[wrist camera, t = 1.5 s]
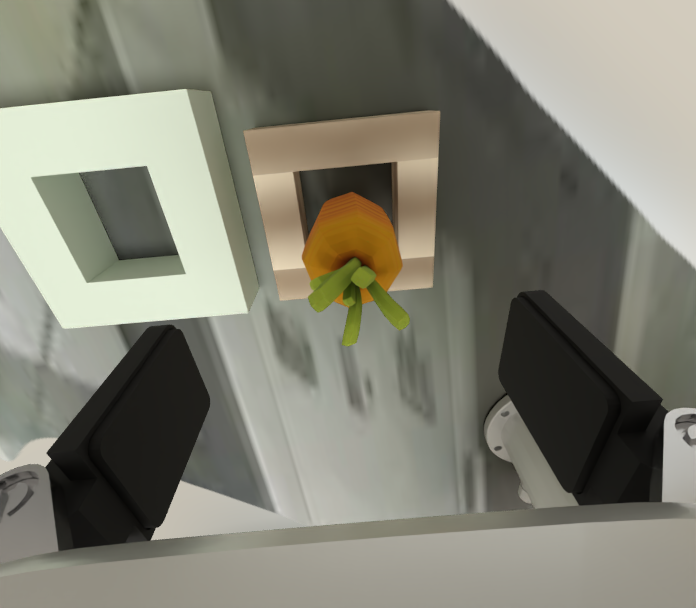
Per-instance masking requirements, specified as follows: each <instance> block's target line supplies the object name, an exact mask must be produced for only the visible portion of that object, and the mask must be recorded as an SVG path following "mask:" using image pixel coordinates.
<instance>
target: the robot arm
mask: <svg viewBox="0 0 696 608" xmlns="http://www.w3.org/2000/svg"><path fill="white" fill-rule="evenodd" d="M498 374H499V379H500V382H501V384H502V386H503V387H504V389H505V391H506V392H507V394H508V395H506V396H505V397H504V398H503V399H501V400H500V401H499V402H498V403H497V404H496V405H495V406H494V408H493V409H492V410H491V411H490V413H489V415H488V416H487V418H486V421H485V424H484V436H485V439H486V442H487V444H488V446H489V448H490V450H491V451H492V452H493V453H494V454H495V455H497V456H498V457H499V458H501V459H503V460H506V461H508V462H512V463H513V465H514V467H515V469H516V471H517V473H518V475H519V478H520V480H521V482H520V486H519V489H518V495H519V497H520V498H521V499H522V500H523V501H524V502H527V503H532V504H533V507H534V509H524V510H511V511H498V512H485V513H472V514H459V515H446V516H433V517H421V518H408V519H396V520H384V521H372V522H360V523H347V524H335V525H323V526H312V527H300V528H288V529H276V530H264V531H254V532H242V533H231V534H219V535H208V536H197V537H185V538H174V539H162V540H152V541H150V540H151V538H152V536H153V533H154V531H155V528H156V527H159V526H161V524H162V523H163V521H164V519H165V517H166V514H167V512H168V509H169V507H170V504H171V502H172V499H173V497H174V494H175V492H176V489H177V487H178V484H179V482H180V479H181V477H182V475H183V472H184V470H185V467H186V465H187V462H188V460H189V457H190V455H191V452H192V450H193V447H194V445H195V442H196V440H197V437H198V435H199V432H200V430H201V427H202V425H203V422H204V420H205V417H206V415H207V412H208V410H209V407H210V397H209V394H208V392H207V389H206V387H205V385H204V382H203V380H202V378H201V375H200V373H199V370H198V368H197V366H196V363H195V361H194V358H193V356H192V354H191V351H190V349H189V347H188V344H187V342H186V339H185V337H184V335H183V333H182V331H181V330H180V329H176V328H175V327H174V326H173V325H160V326H151V327H149V328H147V329H146V331H145V332H144V333H143V334H142V336H141V337H140V338H139V339H138V340H137V342H136V343H135V344H134V345H133V347H132V348H131V349H130V350H129V352H128V353H127V354H126V355H125V357H124V358H123V359H122V360H121V361H120V363H119V364H118V365H117V366H116V368H115V369H114V370H113V371H112V373H111V374H110V375H109V376H108V377H107V379H106V380H105V381H104V382H103V384H102V385H101V386H100V387H99V389H98V390H97V391H96V392H95V394H94V395H93V396H92V397H91V398H90V400H89V401H88V402H87V403H86V405H85V406H84V407H83V408H82V410H81V411H80V412H79V413H78V414H77V416H76V417H75V418H74V419H73V421H72V422H71V423H70V424H69V426H68V427H67V428H66V429H65V431H64V432H63V433H62V434H61V435H60V437H59V438H58V439H57V440H56V442H55V443H54V444H53V446H52V447H51V448H50V449H49V450H48V452H47V454H48V456H49V457H50V458H51V459H52V460H51V461H50V462H49V464H48V465H47V466H46V467H44V466H41V465H38V464H28V465H25V466H21V467H17V468H14V469H12V470H10V471H8V472H5V473H3V474H2V475H0V608H696V408H678V409H673V410H672V411H670V412H668V411H667V410H666V409H665V408H664V407H663V406H662V405H661V402H662V400H663V399H662V398H661V397H660V396H659V395H658V394H657V393H656V392H655V391H653V390H652V389H651V388H650V387H649V386H648V385H647V384H646V383H645V382H644V381H643V380H641V379H640V378H639V377H638V376H637V375H636V374H635V373H634V372H633V371H632V370H631V369H629V368H628V367H627V366H626V365H625V364H624V363H623V362H622V361H621V360H620V359H619V358H617V357H616V356H615V355H614V354H613V353H612V352H611V351H610V350H609V349H608V348H607V347H605V346H604V345H603V344H602V343H601V342H600V341H599V340H598V339H597V338H596V337H595V336H593V335H592V334H591V333H590V332H589V331H588V330H587V329H586V328H585V327H584V326H583V325H581V324H580V323H579V322H578V321H577V320H576V319H575V318H574V317H573V316H572V315H571V314H569V313H568V312H567V311H566V310H565V309H564V308H563V307H562V306H561V305H560V304H559V303H557V302H556V301H555V300H554V299H553V298H552V297H551V296H550V295H549V294H548V293H547V292H545V291H544V290H538V291H527V292H521V293H519V295H518V296H517V298H513V300H512V302H511V306H510V311H509V317H508V322H507V327H506V333H505V338H504V343H503V348H502V354H501V359H500V364H499V370H498Z"/></svg>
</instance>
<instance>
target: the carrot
mask: <svg viewBox="0 0 696 608" xmlns="http://www.w3.org/2000/svg"><path fill="white" fill-rule="evenodd" d="M302 260H303V263H304V265H305V268H306V270H307V272H308V275H309V277H310V279H311V282H310V283H309V285H310V287H311V289H312V290H314V291H313V292H312V293H311V294H310V295H309V296H308V299H309V302H310V305H311V307H312V308H313V309H314V310H316V311H317V312H321V311H323V310H324V309H325V308H327V307H328V306H329V305H330V304H331V303H332V302H333V301H334V302H337V303H339V304H341V305H344V306H346V307H348V308H349V310H348V316H347V320H346V325H345V330H344V334H343V341H342V345H344V346H350V345H353V344H355V343H356V342H357V338H358V335H359V329H360V322H361V313H362V304H364V303H367V302H371V301H375V302H376V304H377V305H378V307H379V308H380V310H381V311H382V313H383V314H384V316H385V317H386V318H387V319H388V320H389V321H390V322H391V324H392V325H393V326H395V327H396V328H397V329H398V330H402V329H404V328H405V327H406V326H407V325H408V324H409V321H410V318H409V316H408V314H407V313H406V312H405V310H404V309H403V308H402V307H400V306H399V305H398V304H397V303H396V302H395V301H394V300H393V299H392V298H391V297H390V296H389V295H388V293H387V291H388V289H389V288H390V286H391V285H392V283H393V282H394V280H395V278H396V277H397V275H398V274H399V272H400V271H401V269H402V267H403V263H402V259H401V255H400V251H399V247H398V244H397V240H396V236H395V232H394V228H393V226H392V224H391V222H390V220H389V218H388V216H387V215H386V213H385V212H384V210H383V209H382V208H381V207H380V206H378V205H377V204H375V203H373V202H371V201H369V200H367V199H365V198H363V197H361V196H360V195H358V194H356V193H354V192H350V193H347V194H344V195H341V196H338V197H335V198H332V199H330V200H328V201H326V202H325V203H324V204H323V206H322V208H321V210H320V213H319V215H318V217H317V219H316V221H315V223H314V225H313V228H312V230H311V232H310V234H309V237H308V239H307V241H306V244H305V247H304V250H303V253H302Z"/></svg>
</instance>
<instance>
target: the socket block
mask: <svg viewBox="0 0 696 608" xmlns="http://www.w3.org/2000/svg"><path fill="white" fill-rule="evenodd" d="M439 128H440V111H430V110H427V111H418V112H408V113H398V114H388V115H378V116H368V117H358V118H348V119H338V120H328V121H318V122H308V123H299V124H289V125H279V126H269V127H259V128H252V129H249V130H245V131H243V132H244V137H245V141H246V146H247V151H248V155H249V160H250V164H251V169H252V174H253V178H254V183H255V187H256V192H257V197H258V201H259V206H260V210H261V215H262V220H263V224H264V229H265V233H266V238H267V243H268V247H269V252H270V256H271V261H272V266H273V270H274V275H275V279H276V284H277V289H278V293H279V298H280V301H282V300H293V299H305V298H308V296H309V295H310V294H311V293H312V292H313V291H314V290H312V289H311V287H310V285H309V283H310V282H311V279H310V277H309V275H308V272H307V270H306V268H305V265H304V263H303V260H302V253H303V250H304V247H305V244H306V241H307V239H308V237H309V234H308V228H307V221H306V214H305V208H304V201H303V195H302V188H301V181H300V175H299V171H306V170H317V169H327V168H337V167H348V166H358V165H368V164H379V163H389V162H391V170H392V215H393V228H394V232H395V236H396V240H397V244H398V247H399V251H400V255H401V259H402V263H403V267H402V269H401V271H400V272H399V274H398V275H397V277H396V278H395V280H394V282H393V283H392V285H391V286H390V288H389V289H388V291H397V290H409V289H420V288H432V287H433V269H434V246H435V222H436V199H437V175H438V152H439Z"/></svg>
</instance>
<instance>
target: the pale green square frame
mask: <svg viewBox="0 0 696 608" xmlns="http://www.w3.org/2000/svg"><path fill="white" fill-rule="evenodd" d="M139 166H147V168H148V170H149V173H150V176H151V179H152V181H153V184H154V187H155V190H156V192H157V195H158V198H159V201H160V203H161V206H162V209H163V212H164V214H165V217H166V220H167V223H168V226H169V228H170V231H171V234H172V237H173V239H174V242H175V245H176V248H177V250H178V253H179V255H172V256H161V257H150V258H139V259H128V260H119V259H118V257H117V255H116V253H115V250H114V248H113V246H112V244H111V242H110V240H109V237H108V235H107V233H106V231H105V229H104V227H103V224H102V222H101V220H100V218H99V216H98V214H97V211H96V209H95V207H94V205H93V203H92V201H91V198H90V196H89V194H88V192H87V190H86V188H85V185H84V183H83V181H82V179H81V177H80V175H79V172H88V171H98V170H109V169H119V168H129V167H139ZM0 227H1V229H2V231H3V232H4V234H5V236H6V237H7V239H8V240H9V242H10V244H11V245H12V247H13V248H14V250H15V252H16V253H17V255H18V257H19V258H20V260H21V261H22V263H23V265H24V266H25V268H26V270H27V271H28V273H29V274H30V276H31V278H32V279H33V281H34V282H35V284H36V286H37V287H38V289H39V291H40V292H41V294H42V295H43V297H44V299H45V300H46V302H47V303H48V305H49V307H50V308H51V310H52V312H53V313H54V315H55V316H56V318H57V320H58V321H59V323H60V325H61V326H62V328H63V329H68V328H79V327H91V326H103V325H114V324H126V323H137V322H149V321H161V320H172V319H184V318H196V317H207V316H219V315H230V314H242V313H249V310H250V308H251V306H252V304H253V301H254V299H255V297H256V295H257V292H258V290H259V284H258V280H257V276H256V272H255V267H254V263H253V259H252V255H251V251H250V247H249V243H248V239H247V235H246V231H245V227H244V223H243V219H242V215H241V211H240V207H239V203H238V199H237V195H236V191H235V187H234V183H233V178H232V174H231V170H230V166H229V162H228V158H227V154H226V150H225V146H224V142H223V138H222V134H221V130H220V126H219V122H218V118H217V114H216V110H215V106H214V102H213V98H212V94H211V91H201V90H192V89H181V90H171V91H161V92H152V93H142V94H133V95H123V96H114V97H104V98H94V99H85V100H75V101H66V102H56V103H47V104H37V105H27V106H18V107H8V108H0Z"/></svg>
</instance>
